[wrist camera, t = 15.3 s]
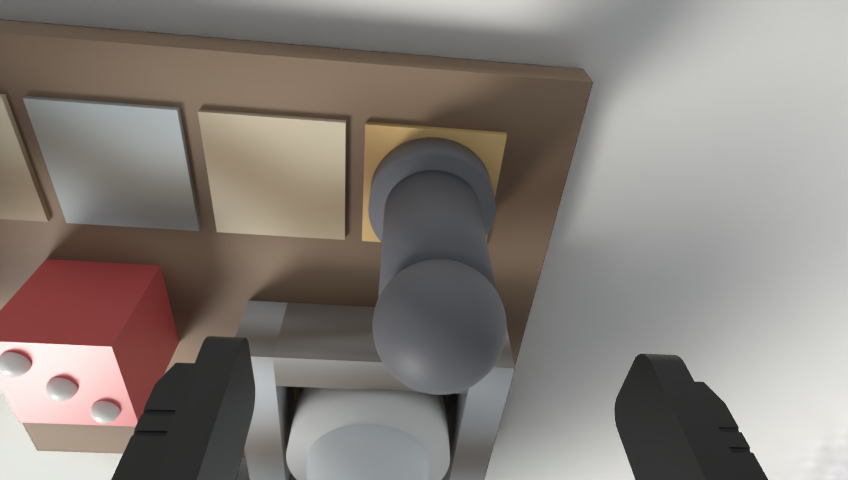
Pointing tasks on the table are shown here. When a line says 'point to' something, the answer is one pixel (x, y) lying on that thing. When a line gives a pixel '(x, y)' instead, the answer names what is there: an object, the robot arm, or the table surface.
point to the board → (267, 198)
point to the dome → (368, 435)
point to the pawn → (435, 267)
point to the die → (86, 342)
